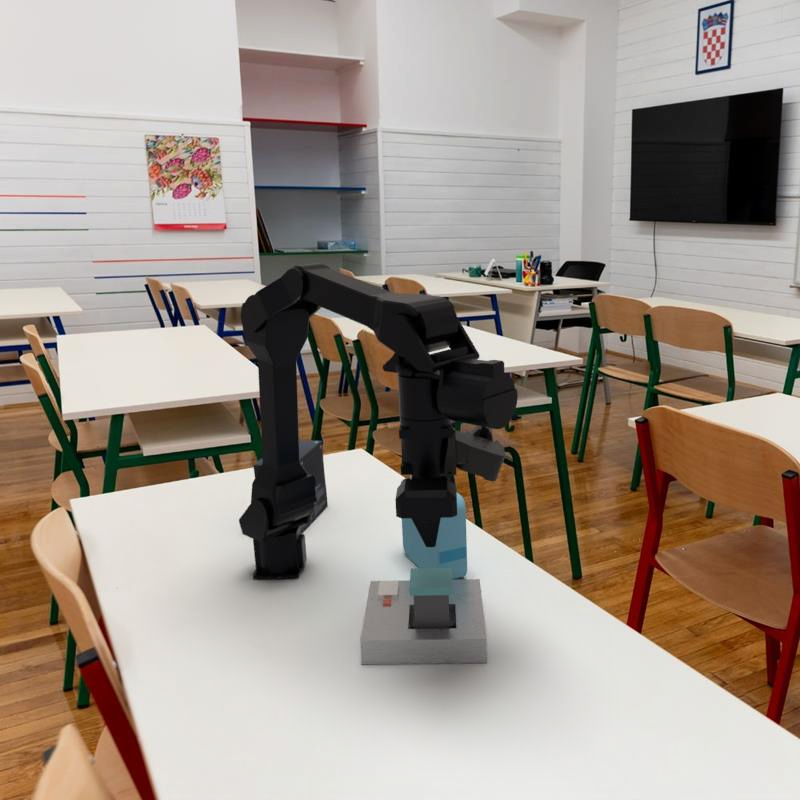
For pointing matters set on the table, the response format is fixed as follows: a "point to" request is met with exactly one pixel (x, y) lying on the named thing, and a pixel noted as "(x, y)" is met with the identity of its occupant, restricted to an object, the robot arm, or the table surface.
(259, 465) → the small box
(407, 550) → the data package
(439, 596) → the plug
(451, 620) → the faceplate
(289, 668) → the table surface
